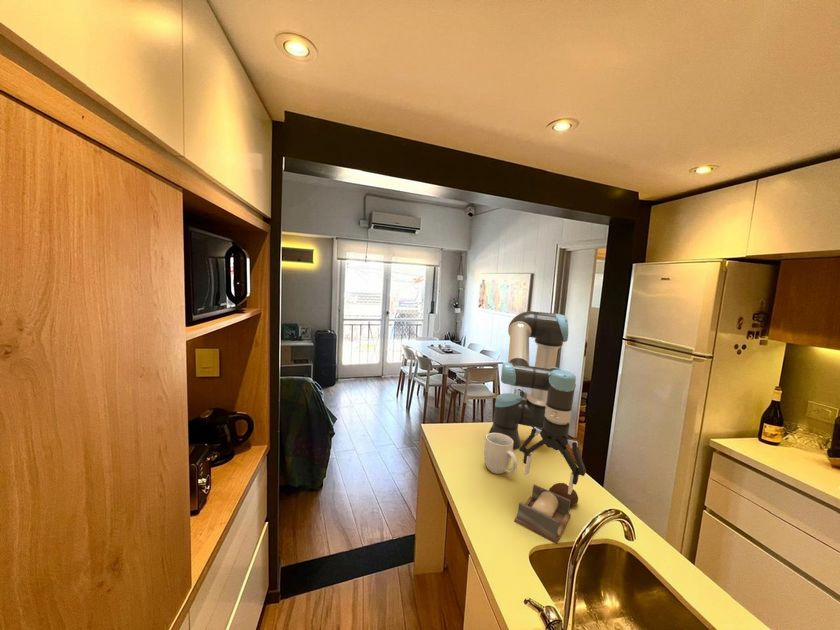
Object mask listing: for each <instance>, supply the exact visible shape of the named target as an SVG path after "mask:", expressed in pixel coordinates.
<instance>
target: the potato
mask: <svg viewBox="0 0 840 630" xmlns="http://www.w3.org/2000/svg"><path fill="white" fill-rule="evenodd" d="M568 488H569V484H567V483H565V482H559V483H554V484H553V485H552V486H551V487H549V489H548V490H549V491H551V492H553V493H555V494H558V495H560V496H562V497H565V498H567V499H569V500H571V501H570V507H572V506H575V505H576V504H577V503H578V502H579V495H578V494H577V492H576V490H575V489H573V490H572V493H571V494H568Z"/></svg>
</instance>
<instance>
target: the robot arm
mask: <svg viewBox="0 0 840 630" xmlns="http://www.w3.org/2000/svg"><path fill="white" fill-rule="evenodd" d="M507 329H508V331H507V332H508V336H509V345H508V355H507V356H508V359H507V362H503V363H502V367H501V375H500V377H501V378H500V382H501V383H502V384H506V385H510V386H514V387H520V388H527V389H530V394H528V395H526V399H523V397H522V396H521V395H520V394H516V393H513V392H511V393H509V392H508V393H507V392H504V393H500V394H499V395H497V396H496V398H495V403H494V412H493V418H492V421H493V422H492V425H491V427H490V429H489V431H488V434H489V433H500V434H504V435H506V436H509V437H510V438H511V439H512V440H513V442H514V443H513V450H516V449H518V451H519V452H522V453H523V459H522V461H523V462H522V463H523V464H524V465H525V468H524V475H525V476H528V475H529V474H530V473H531V472H530V471H531V464H532V456H533V454H532V452H534V451H536V450H538V449H539V448H541V447H543V446H544V445H545V446H546V447H547V448H549V449H552V450H555V451H559V452H560V454H561V455H562V457H563V458H564V460H565V461H566V462H567V463H566V464H567V465H568V466H569V469H570V470H571V473H570V475H569V483H568V486H569V488H568V494H571V493H572V490H574V485H575V486H576V485H577V484H578V481H579V477H580V476H582V477H584V476H585V475H586V473H587V469H586V467H585V464H584V461H583V458H582V457H583V456H582V454H581V452H580V449H579V441H578V440H577V439H575V440H571V439H569V431H570V430H569V429H570V422H571V417H572V409H573V403H574V396H575V390H576V386H577V384H576V382H577V381H576V380H577V377H576V375H575V374H574V373H573V372H571V371H568V370H564V369H561V368H559V367H556V364H557V357H558V352H559V351H558V350H559V349H560V348H562V347H563V343H566V342H568V339H569V321H568V318H567V316H566V315H565V314H560V313H553V312H544V311H543V312H541V311H533V310H530V311H528V310H527V311H523V312H520V313H519V314H517V315H516V316H514V317H513V318H512V319H511V320H510V322H509V324H508V328H507ZM530 338H532V339H533V338H534V343H535V344H536V345H537V348H536V356H535V363H534V366H532V365H530ZM519 425H520V426H521V425H522V426H526V427H532V429H531V432H530V434H529V435H528V437H527V438H526V440H525V441H524V442H523V443H522V444H520V443H521V440H520V434H519ZM538 435H540V437H541V440H540V441H538V442H536V443H535V444H533V445H532V446H530V447H528V445H529V444H530V443H531V442H532V441H533V439H534V438H536V437H535V436H538ZM567 445H569V447H570V448H571V450H572V453H573V456H574V459H575V460H574V459H573V457H572V455H571V453H570V451H569V449H568V447H567ZM527 447H528V448H527Z"/></svg>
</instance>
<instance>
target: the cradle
mask: <svg viewBox="0 0 840 630" xmlns="http://www.w3.org/2000/svg"><path fill="white" fill-rule="evenodd" d="M545 491H546V492H550V493H552V494H553V495H554V496H555V497H556V498H557V500H558V507H557V509H556V511H555V512H554V514H553V516H552V517H550V516H548V515H546V514H544V513H542V512H540V511H538V510H536V509H534V508H531V507H532V506H533V504H534V503H535V502H536V500H537V499H538V497H539V496H540V495H541V493H542V492H545ZM531 493H532V494H531V496H529V497H528V499H526V501H525V503H523V502H518V509H517V513H516V516H515V517H514V523H516V524H519V525H520V526H522V527H524V528H525V529H528V530H530V531H532V532H533V533H535V534H537V535H539V536H541V537H543V538H544V539H547V540H549V541H550V542H552V543H555V544H558V542H559V541H560V539H561V536H562V534H563V532H564V530H565V528H566V526H567V524H568V522H569V521H570V518H571V515H572V514H571V513H570V507H571V506H570V501H571V500H569V499H567V498H565V497H562V496H560V495H558V494H555V493H553V492H551V491H549V489H546V488H544V487H542V486H539V485H537V484H535V483H534V484H533V485H532V492H531Z"/></svg>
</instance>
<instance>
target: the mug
mask: <svg viewBox="0 0 840 630" xmlns="http://www.w3.org/2000/svg"><path fill="white" fill-rule="evenodd" d="M488 433H489V432H488ZM513 443H514V442H513V440H512V439H511V438H510V437H509V436H506V435H504V434H500V433H489V434H486V436H485V441H484V449H483V450H484V451H483V452H484V462H485V466H486V467H487V469H488V471H490V472H491V473H492V474H496V475H502V474H504V473H509V474H510V473H514V472H515V471H516V470H517V467H518V460H517V457H516V455H515V453H514V452H513V451H514V449H513ZM511 460H512V468H511V469H509V466H510V464H511Z"/></svg>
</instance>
